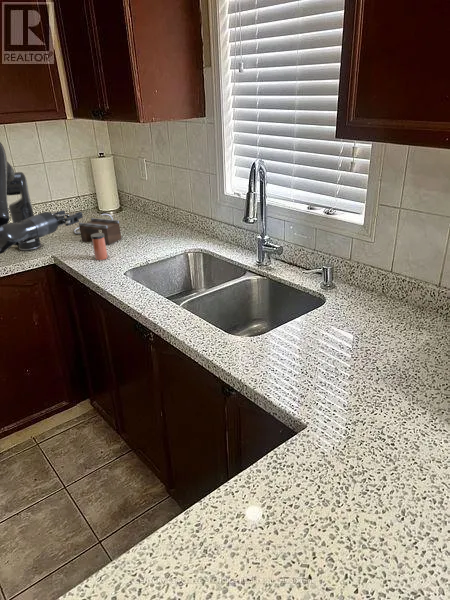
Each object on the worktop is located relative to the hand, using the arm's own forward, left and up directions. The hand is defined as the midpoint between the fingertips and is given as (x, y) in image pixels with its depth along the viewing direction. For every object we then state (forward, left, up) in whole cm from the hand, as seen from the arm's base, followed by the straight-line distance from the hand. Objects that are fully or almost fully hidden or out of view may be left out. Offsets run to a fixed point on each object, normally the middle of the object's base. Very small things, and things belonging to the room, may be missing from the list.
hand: (72, 213), depth 168 cm
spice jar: (0, +11, -22) cm, 24 cm away
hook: (-31, +43, -22) cm, 57 cm away
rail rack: (-16, +31, -22) cm, 41 cm away
